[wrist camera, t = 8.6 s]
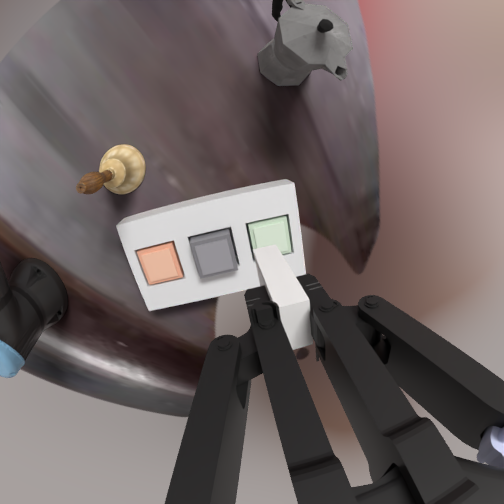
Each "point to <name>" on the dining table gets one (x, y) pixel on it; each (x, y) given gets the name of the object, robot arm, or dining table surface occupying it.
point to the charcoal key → (213, 253)
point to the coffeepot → (305, 44)
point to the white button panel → (203, 221)
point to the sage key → (270, 233)
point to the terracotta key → (161, 262)
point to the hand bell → (116, 172)
